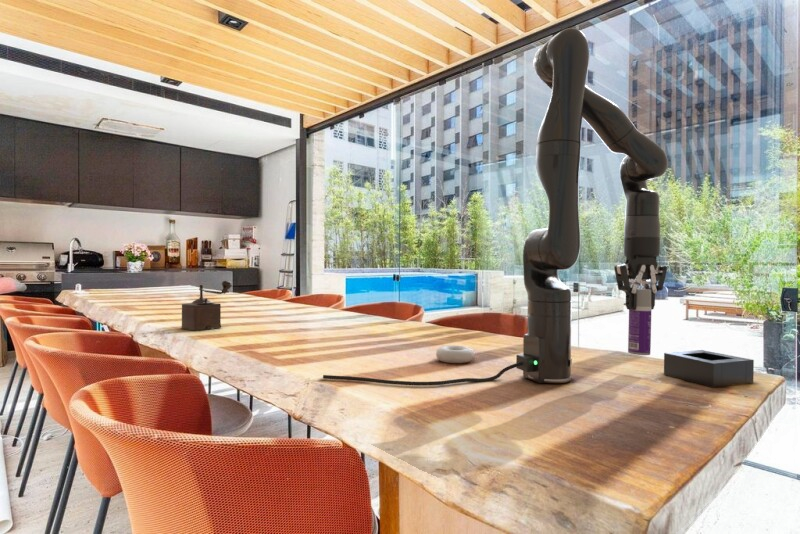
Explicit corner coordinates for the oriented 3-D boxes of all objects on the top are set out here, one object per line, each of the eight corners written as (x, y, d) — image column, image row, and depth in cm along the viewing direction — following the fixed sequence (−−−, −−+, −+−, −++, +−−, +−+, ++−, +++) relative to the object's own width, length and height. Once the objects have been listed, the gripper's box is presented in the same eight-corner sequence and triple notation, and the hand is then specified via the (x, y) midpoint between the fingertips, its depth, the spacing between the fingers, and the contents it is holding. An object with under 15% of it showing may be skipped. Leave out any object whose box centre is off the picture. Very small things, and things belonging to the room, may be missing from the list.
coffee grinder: (196, 331, 173) (196, 281, 173) (180, 328, 179) (180, 280, 179) (234, 326, 185) (234, 280, 185) (218, 324, 192) (218, 279, 192)
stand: (713, 387, 99) (713, 363, 99) (663, 374, 110) (663, 352, 110) (753, 382, 103) (753, 359, 103) (701, 370, 114) (701, 349, 114)
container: (653, 355, 109) (654, 290, 109) (631, 354, 110) (632, 289, 110) (646, 352, 113) (648, 289, 113) (625, 351, 114) (627, 288, 114)
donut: (464, 367, 117) (480, 359, 126) (464, 353, 117) (480, 346, 126) (429, 362, 123) (446, 355, 131) (428, 348, 123) (446, 342, 131)
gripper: (651, 238, 117) (650, 307, 117) (605, 235, 112) (603, 308, 113) (678, 236, 110) (677, 310, 110) (630, 234, 105) (628, 311, 105)
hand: (640, 309), depth 111 cm, fingers closed on container, 4 cm apart
